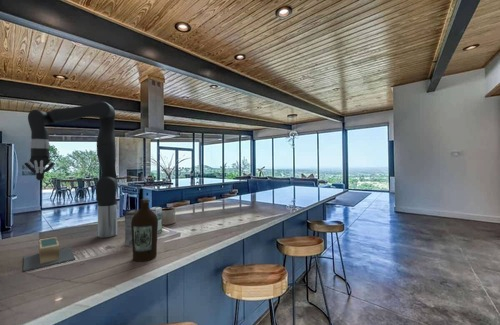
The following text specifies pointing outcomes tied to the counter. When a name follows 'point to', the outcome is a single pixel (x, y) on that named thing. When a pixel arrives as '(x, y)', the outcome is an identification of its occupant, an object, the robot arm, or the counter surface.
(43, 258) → the oak block
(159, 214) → the syrup box
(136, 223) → the olive oil
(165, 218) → the planter
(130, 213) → the coffee box
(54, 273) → the counter surface
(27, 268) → the rubber mat
